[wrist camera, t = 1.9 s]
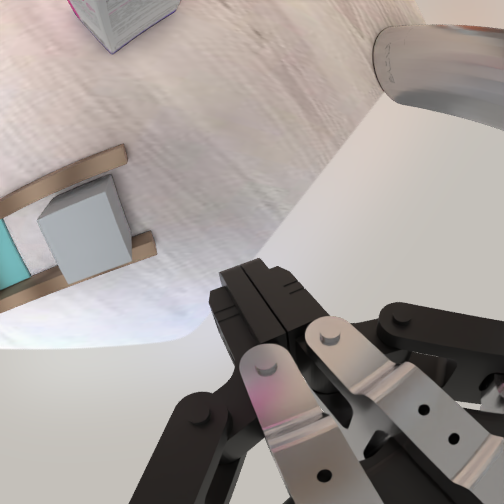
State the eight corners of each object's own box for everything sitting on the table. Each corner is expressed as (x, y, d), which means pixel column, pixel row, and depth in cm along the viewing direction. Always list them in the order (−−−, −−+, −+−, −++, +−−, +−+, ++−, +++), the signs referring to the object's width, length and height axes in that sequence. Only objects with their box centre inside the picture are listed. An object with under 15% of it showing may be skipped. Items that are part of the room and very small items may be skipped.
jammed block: (110, 174, 19) (105, 191, 15) (131, 232, 22) (132, 261, 18) (53, 197, 18) (36, 220, 14) (77, 253, 21) (68, 284, 17)
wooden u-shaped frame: (123, 143, 19) (122, 147, 17) (155, 243, 23) (157, 254, 22) (-59, 236, 14) (-68, 246, 12) (-18, 310, 19) (-23, 322, 17)
